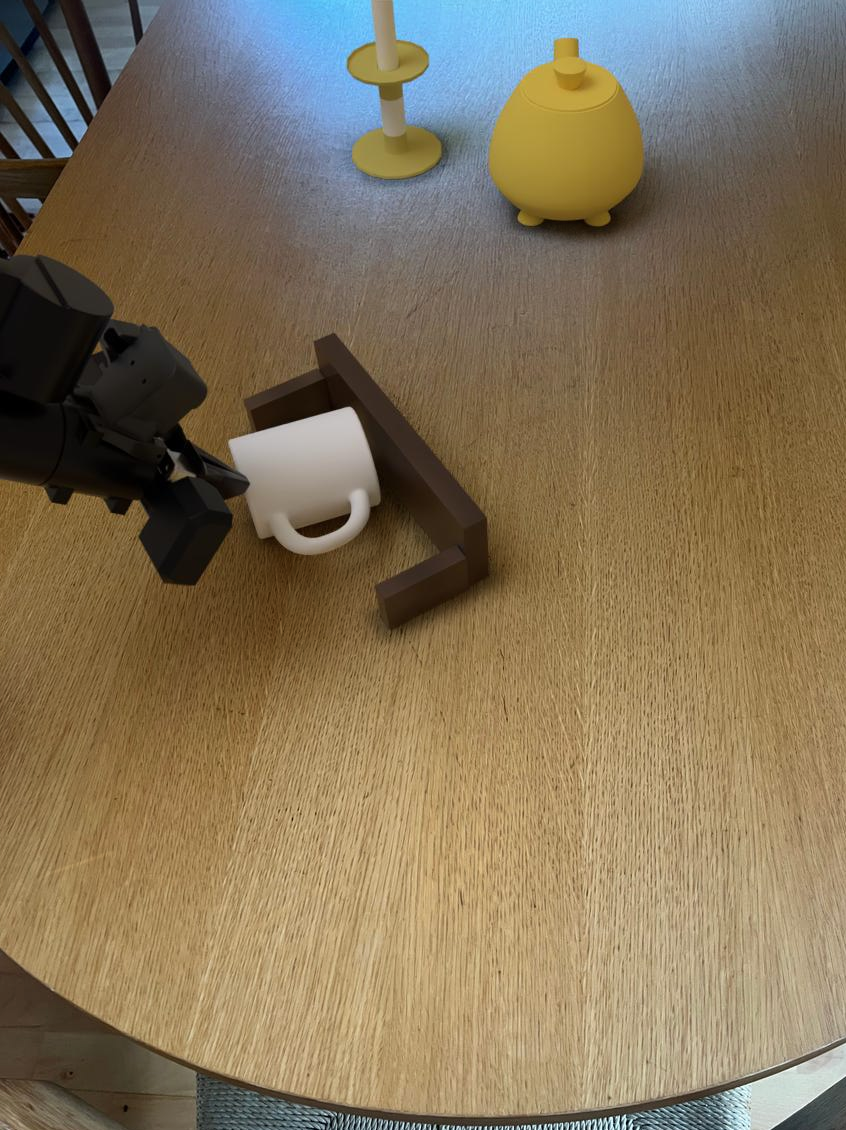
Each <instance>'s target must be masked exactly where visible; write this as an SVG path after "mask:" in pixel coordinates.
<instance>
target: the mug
mask: <svg viewBox="0 0 846 1130" xmlns="http://www.w3.org/2000/svg"><path fill="white" fill-rule="evenodd" d="M227 441H228V442H227V444H228V448H229V449H230V450H229V451H230V453H231V454H230V455H231V457H232V460H233V464H234V467H235V470H237V471H238V472H240V473H242V474H243V475H245V476H246V477H247V479H248V480H249V482H250V486H249V487H248V489H247V490H246V492H245V493H244V494H243V495H244V497H245V500H246V503H247V506H248V509H249V512H250V515H251V519H252V521H253V522H252V523H253V524H254V527H255V530H256V533H257V536H258V538H259V539H260V540H264V539H267V538H268V539H269V538H271V537H275V539H276V540H277V541H278V543H280V545H282V546H283V547H284V548H285V549H286V550H288V551H290V552H292V553H295V554H297V555H302V556H303V555H304V556H314V555H315V556H316V555H320V554H325V553H330V552H331V551H332V552H333V551H334V550H337V549H339V548H341V547H343V546H345V545H346V544H348V543H349V542H351V541H352V540H354V539H355V538H356V537H357V536H358V535H359V534H360V533H361V532H362V531H363V530H364V528H365V527H366V525H367V523H368V521H369V519H370V516H371V515H370V514H371V508H373V507H375V506H379V505H380V503H381V500H382V497H381V494H382V493H381V488H380V482H379V477H378V473H377V469H376V468H375V465H374V461H373V458H372V454H371V451H370V448H369V445H368V442H367V439H366V436H365V433H364V430H363V428H362V425H361V423H360V420H359V418H358V416H357V414H356V412H355V411H354V409H353V408H351V407H346V408H342V409H339V410H335V411H331V412H328V413H324V414H321V415H317V416H313V417H310V418H306V419H303V420H299V421H295V422H292V423H288V424H284V425H281V426H277V427H274V428H270V429H266V430H263V431H259V432H256V433H253V432H252V433H247V434H245V435H241V436H238V437H234V438H231V439H229V440H227ZM349 514H350V516H349V519H348V520H347V522H346V523H345V524H344V525H343V526H342V527H340V528H338V529H337V530H335V531H333V532H330V533H327V534H325V535H322V536H319V537H306V536H304V535H301V534H300V533H299V532H297V530H298V529H301V528H304V527H305V528H306V527H308V526H311V525H315V524H318V523H321V522H322V523H323V522H324V521H328V520H329V521H330V520H333V519H336V518H338V517H342V516H345V515H349Z"/></svg>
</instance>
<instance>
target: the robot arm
mask: <svg viewBox="0 0 846 1130" xmlns="http://www.w3.org/2000/svg"><path fill="white" fill-rule="evenodd" d="M114 311H115V306H114V303H113V300H112V299H111V298H110V297H109V295H108V294H107V293H106V292H105V291H104V290H103V289H102V288H101V287H100V286H99V285H98V284H97V283H95V281H92V280H91V279H90V278H88V277H87V276H86V275H84V274H83V273H82V272H81V273H80V271H77V270H76V269H74V268H72V267H70V266H68V265H67V264H65V263H63V262H61V261H59V260H57V259H54V258H52V257H50V256H46V255H44V254H40V253H38V254H37V255H36V256H35V255H30V254H16V255H13V256H12V257H11V258H10V259H9V260H8V259H6V258H2V257H0V480H3V481H7V482H13V483H19V484H24V485H30V486H34V487H40V488H43V489H44V491H45V493H46V495H47V497H48V500H49V501H50V503H51V504H57V505H64V506H67V505H68V504H69V501H70V499H71V498H72V496H73V494H77V495H83V496H90V497H93V498H94V497H95V498H99V499H102V500H103V501H104V503H105V505H106V506H107V508H108V511H109V512H110V514H114V515H120V516H126V515H127V512H128V511H129V509H130V507H131V506H132V503H133V502H134V501H136V502H138V501H139V503H140V505H141V506H142V508H143V510H144V512H145V514H146V516H147V517H148V519H147V521H146V522H145V524H144V525H143V527H142V529H141V530H140V532H139V534H138V536H137V537H138V539H139V542H140V543H141V545H142V548H143V549H144V551H145V552H146V554H147V556H148V558H149V560H150V562H151V564H152V566H153V567H154V569H155V571H156V573H157V574H158V576H159V578H160V580H161V581H162V583H163V584H166V585H175V586H182V587H195V586H196V585H197V584H198V583H199V580H200V579H201V577H202V576H203V574H204V572H206V569H207V568H208V566H209V565H210V563H211V561H212V560H213V558H214V556H215V555H216V554H217V552H218V551H219V549H220V547H221V546H222V544H223V542H224V541H225V539H226V537H227V536H228V535H229V533H230V531H231V529H232V528H233V520H234V519H233V518H234V514H233V512H232V511H231V509H230V507H229V505H228V504H227V502H226V501H227V500H230V499H233V498H236V497H239V496H242V495H245V494H244V493H245V492H246V490H247V489H248V487H249V486H250V482H249V480H248V479H247V477H246V476H245V475H243V474H242V473H240V472H238V471H237V469H236V468H234V467H232V466H230V465H229V464H227V463H225V462H224V461H222V460H221V459H219V458H217V457H216V456H215V455H212V454H210V453H209V452H208V451H207V450H205V449H203V448H201V447H200V446H198V445H196V444H195V443H193V442H192V441H191V440H190V439H188V438H187V436H186V434H185V432H184V429H183V427H182V425H181V424H180V421H181V420H183V419H184V418H185V417H186V416H187V415H188V414H189V413H190V412H191V411H192V410H196V409H198V408H199V407H200V406H201V405H202V404H203V403H204V402H205V400H206V398H207V396H208V392H209V390H208V386H207V383H206V382H205V381H204V380H203V379H202V377H201V376H200V375H199V373H198V372H197V370H196V369H195V367H194V366H193V364H192V362H191V361H190V359H189V358H188V357H187V356H186V355H184V354H183V352H181V351H180V350H179V349H177V348H176V347H175V346H174V345H173V344H172V343H170V342H169V341H168V340H167V339H166V338H165V337H164V335H163V334H162V333H161V331H160V330H159V328H158V327H157V326H153V325H152V326H147V324H145V323H141V325H139V324H136V323H132V322H130V321H129V322H128V321H123V320H118V319H114V318H112V317H113V314H114ZM98 344H99V345H100V347H101V350H100V351H97V352H95V353H94V351H95V350H96V348H97V346H98Z"/></svg>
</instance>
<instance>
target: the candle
mask: <svg viewBox="0 0 846 1130" xmlns="http://www.w3.org/2000/svg"><path fill="white" fill-rule="evenodd" d="M370 5H371V15H372V25H373V33H374V41H371V42H368V43H364V44H363V45H360V46H359V47H357V48H355V49H353V50H352V52H351V53H350V54H349V55H348V56H347V58H346V71H347V72H348V73H349V74H350V76H351V77H352V78H353V79H355V80H356V81H358V82H360V83H362V84H365V85H371V86H375V87H378V96H379V105H380V106H379V107H380V115H381V123H382V127H378V128H375V129H372V130H370V131H369V132H367V133H365V134H363V135H361V136H360V137H359V138H358V139H357V141H356V142H355V143H354V145H353V146H352V148H351V161H352V162H353V164H354V165H355V167H356V169H357V170H359V171H361V172H363V173H364V174H366V175H368V176H370V177H373V178H378V179H383V180H404V179H405V180H406V179H409V178H410V179H411V178H413V177H417V176H420V175H423V174H424V173H426V172H428V171H429V170H431V169H432V168H434V167H436V165H437V164H438V163H439V161H440V160H441V158H442V156H443V149H442V147H443V144H442V142H441V141H440V140H439V139H438V137H437V136H436V134H435V133H432V132H431V131H428V129H427V130H426V129H425V128H423V127H419V126H415V125H408V124H407V123H406V121H407V120H406V112H405V100H404V90H403V85H404V84H406V83H411V82H413V81H415V80H417V79H418V78H419V77H422V76H423V75H424V74H425V72H426V71H427V70H428V69H429V67H430V54H429V52H428V51H426V49H425V48H424V47H423V46H421V45H419V44H417V43H415V42H412V41H411V40H403V39H398V38H397V31H396V21H395V19H396V18H395V9H394V0H370Z"/></svg>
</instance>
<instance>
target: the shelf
mask: <svg viewBox="0 0 846 1130" xmlns="http://www.w3.org/2000/svg"><path fill="white" fill-rule="evenodd" d="M313 346H314V353H315V357H316V362H317V366H318V367H317V368H314V369H312V370H309V371H307V372H304V373H302V374H300V375H298V376H295V377H293V378H290V379H288V380H286V381H284V382H281V383H278V384H277V385H274V386H272V387H269V388H267V389H264V390H262V391H260V392H258V393H255V394H253V395H251V396H248V397H246V398H244V399H242V401H243V405H244V407H245V412H246V414H247V418H248V422H249V424H250V428H251V431H252V433H256V432H259V431H263V430H266V429H270V428H274V427H277V426H281V425H284V424H288V423H292V422H295V421H299V420H303V419H306V418H310V417H313V416H317V415H321V414H324V413H328V412H331V411H335V410H339V409H342V408H346V407H351V408H353V409H354V411H355V412H356V414H357V416H358V418H359V420H360V423H361V425H362V428H363V430H364V433H365V436H366V439H367V442H368V445H369V448H370V451H371V454H372V458H373V461H374V465H375V469H376V471H377V472H378V473H379V475H380V476H381V477H382V478H383V480H384V482H386V484H387V485H388V486H389V487H390V489H391V490H392V492H393V493H394V494H395V495H396V497H397V498H398V500H400V502H401V503H402V504H403V506H404V508H405V509H406V510H407V511H408V512H409V513H410V514H411V516H412V518H413V519H414V520H415V521H416V522H417V524H418V525H419V527H420V528H421V529H422V530H423V531H424V533H425V534H426V536H427V537H428V538H429V539H430V540H431V542H432V543H433V545H434V546H435V547H436V548H437V550H438V551H439V553H436V554H435V555H432V556H431V557H429V558H427V559H425V560H423V561H421V562H418V563H417V564H415V565H413V566H411V567H409V568H407V569H405V570H403V571H401V572H399V573H397V574H395V575H393V576H390V577H389V578H387V579H385V580H383V581H381V582H379V583H377V584H375V585H374V590H375V595H376V601H377V605H378V610H379V616H380V619H381V620H382V622H383V623H384V624H385V625H386V627H387V628H388V630H389V631H391V630H392V629H395V628H397V627H398V626H401V625H402V624H404V623H406V622H408V621H410V620H412V619H414V618H416V617H418V616H420V615H421V614H424V613H425V612H427V611H429V610H431V609H433V608H435V607H437V606H439V605H441V604H443V603H445V602H447V601H449V600H451V599H453V598H455V597H457V596H458V595H461V594H463V593H464V592H466V591H469V588H470V587H471V586H472V585H475V584H476V583H478V582H480V581H482V580H484V579H486V578H488V577H490V566H489V562H490V561H489V537H488V536H489V535H488V533H489V531H488V530H489V529H488V517H487V515H486V514H485V513H484V511H482V509H481V508H480V507H479V506H478V504H477V503H476V502H475V501H474V499H473V498H472V497H471V495H469V494H468V493H467V491H466V490H465V489H464V488H463V486H462V485H461V484H460V483H459V481H458V480H457V478H455V476H453V474H452V472H450V470H449V469H448V468H447V467H446V465H444V463H443V462H442V461H441V460H440V458H439V457H438V456H437V454H435V453H434V451H433V450H432V449H431V447H430V446H429V445H428V444H427V443H426V441H425V440H424V439H423V438H422V437H421V435H420V434H419V433H418V432H417V430H416V429H415V428H414V427H413V426H412V425H411V423H410V422H409V421H408V420H407V419H406V417H405V416H404V415H403V414H402V413H401V411H400V410H399V409H398V407H397V406H396V405H395V404H394V402H393V401H392V400H391V399H390V398H389V397H388V395H387V394H386V393H385V392H384V391H383V389H382V388H381V387H380V386H379V385H378V383H377V382H376V381H375V380H374V378H373V377H372V376H371V375H370V374H369V372H368V371H367V370H366V369H365V368H364V366H363V365H362V364H361V363H360V362H359V360H358V359H357V357H356V356H354V354H353V353H352V352H351V351H350V350H349V348H348V347H347V345H346V344H345V343H344V342H343V341H342V340H341V338H340V337H339V336H338V334H336V333H335V332H332V333H330V334H327V335H325V336H322V337H320V338H318V339H315V340H313Z"/></svg>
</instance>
